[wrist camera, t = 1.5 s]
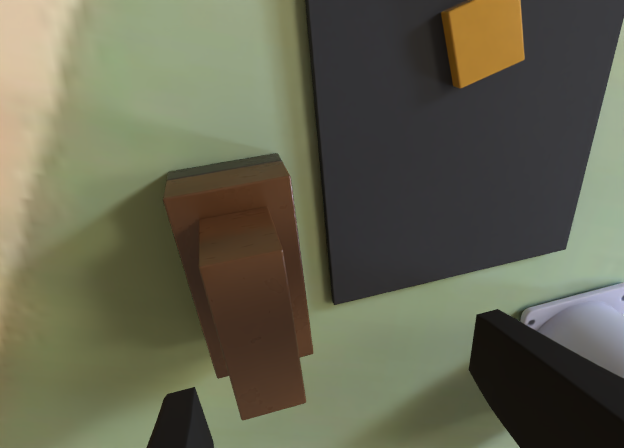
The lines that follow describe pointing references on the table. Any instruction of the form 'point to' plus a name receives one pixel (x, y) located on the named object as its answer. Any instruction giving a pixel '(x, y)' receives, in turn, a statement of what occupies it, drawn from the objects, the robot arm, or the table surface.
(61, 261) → the table surface
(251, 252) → the brown stepped block
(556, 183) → the mat
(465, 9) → the mustard square tile
